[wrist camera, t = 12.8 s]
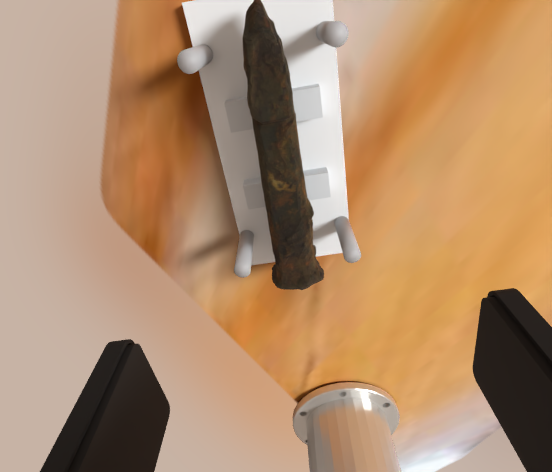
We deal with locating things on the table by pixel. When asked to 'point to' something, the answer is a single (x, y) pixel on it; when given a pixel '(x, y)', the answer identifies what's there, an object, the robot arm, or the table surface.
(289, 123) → the dark brown rough rod
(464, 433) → the table surface
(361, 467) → the robot arm
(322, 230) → the peg rack
